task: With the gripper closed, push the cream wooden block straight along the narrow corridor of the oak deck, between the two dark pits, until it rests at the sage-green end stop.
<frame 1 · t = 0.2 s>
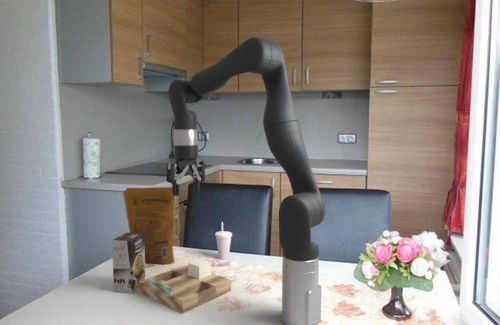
hand: (186, 194, 130), 28 cm above the table, tool pointing down, fingers open, 8 cm apart
smoothie: (223, 258, 152), on the table
coffee box: (130, 287, 126), on the table
pancake mix bag: (152, 262, 148), on the table
trap deck: (185, 291, 122), on the table
block: (199, 274, 126), point 3 cm above the table, touching trap deck
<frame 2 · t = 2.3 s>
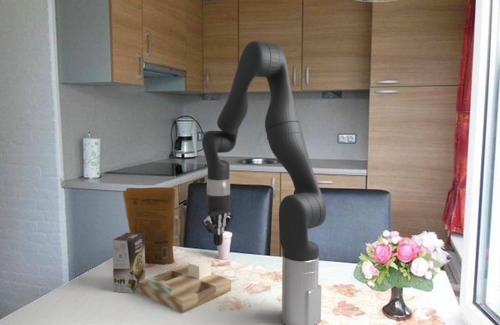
hand: (218, 244, 132), 11 cm above the table, tool pointing down, fingers closed
nothing on the table moved.
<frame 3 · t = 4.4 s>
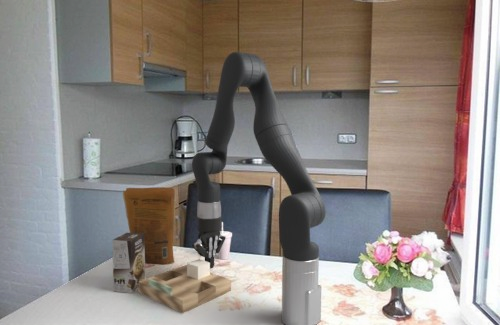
hand: (209, 267, 130), 5 cm above the table, tool pointing down, fingers closed
block: (198, 275, 126), point 4 cm above the table, touching gripper
everything else where it was.
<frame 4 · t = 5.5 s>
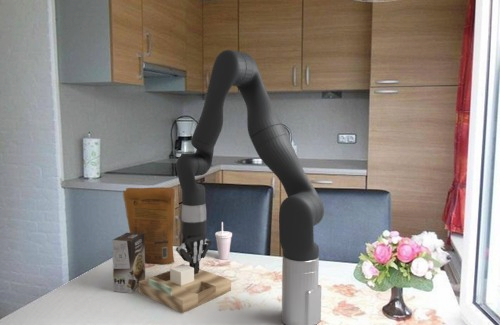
hand: (194, 273, 125), 5 cm above the table, tool pointing down, fingers closed
block: (182, 281, 121), point 4 cm above the table, touching gripper
everything else where it was.
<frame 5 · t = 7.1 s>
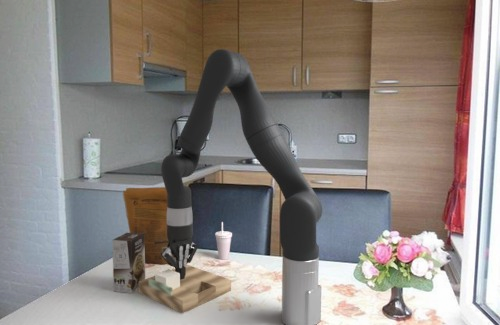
hand: (180, 278, 120), 5 cm above the table, tool pointing down, fingers closed
block: (167, 286, 117), point 3 cm above the table, touching gripper, trap deck
everything else where it was.
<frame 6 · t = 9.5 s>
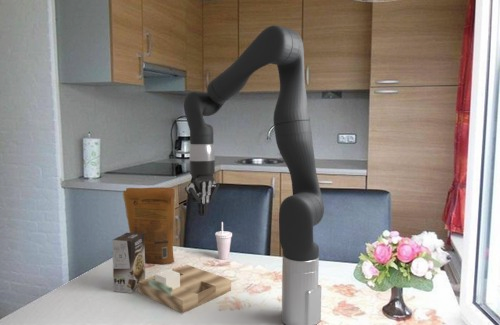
hand: (203, 215, 124), 23 cm above the table, tool pointing down, fingers closed
block: (167, 286, 117), point 3 cm above the table, touching trap deck
everything else where it was.
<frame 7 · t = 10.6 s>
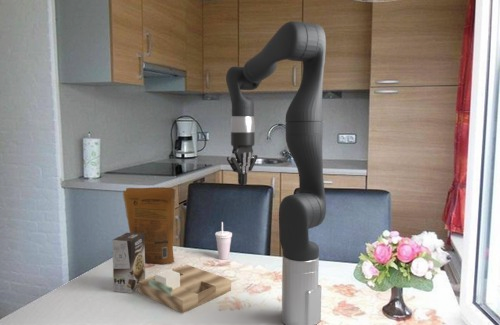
hand: (242, 184, 130), 31 cm above the table, tool pointing down, fingers closed
nothing on the table moved.
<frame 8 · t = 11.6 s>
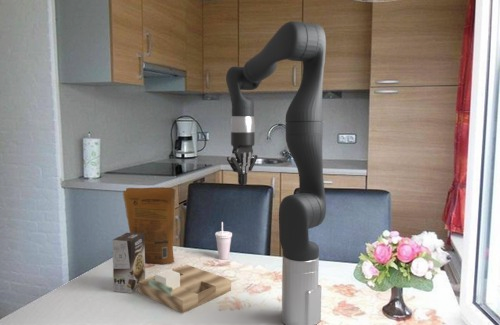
hand: (242, 184, 130), 31 cm above the table, tool pointing down, fingers closed
nothing on the table moved.
at the end: block 0.2 cm from the target spot on the trap deck, point 3.5 cm above the trap deck's base; block tilted 0°; the gripper is holding nothing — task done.
